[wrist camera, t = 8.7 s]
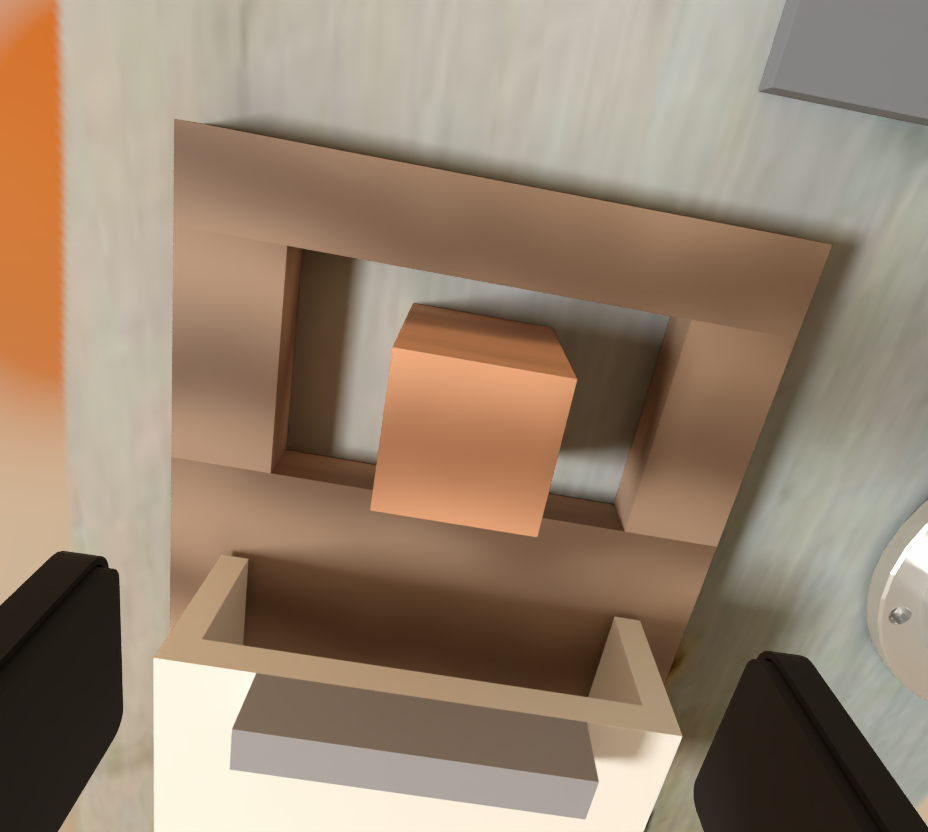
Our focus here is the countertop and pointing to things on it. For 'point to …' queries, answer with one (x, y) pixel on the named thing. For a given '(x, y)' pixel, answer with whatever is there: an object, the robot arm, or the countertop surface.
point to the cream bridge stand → (394, 738)
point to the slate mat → (853, 56)
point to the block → (472, 421)
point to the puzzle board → (351, 483)
